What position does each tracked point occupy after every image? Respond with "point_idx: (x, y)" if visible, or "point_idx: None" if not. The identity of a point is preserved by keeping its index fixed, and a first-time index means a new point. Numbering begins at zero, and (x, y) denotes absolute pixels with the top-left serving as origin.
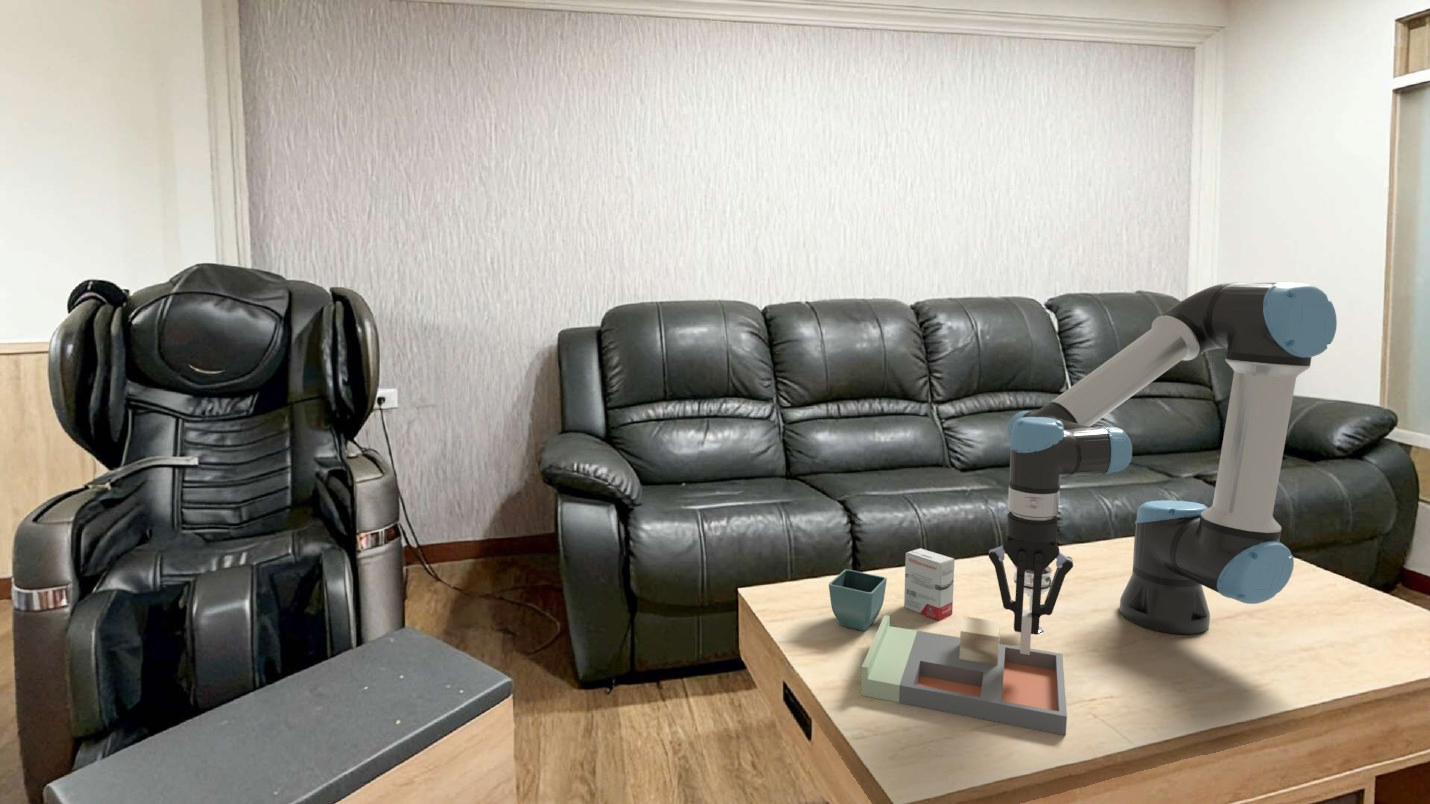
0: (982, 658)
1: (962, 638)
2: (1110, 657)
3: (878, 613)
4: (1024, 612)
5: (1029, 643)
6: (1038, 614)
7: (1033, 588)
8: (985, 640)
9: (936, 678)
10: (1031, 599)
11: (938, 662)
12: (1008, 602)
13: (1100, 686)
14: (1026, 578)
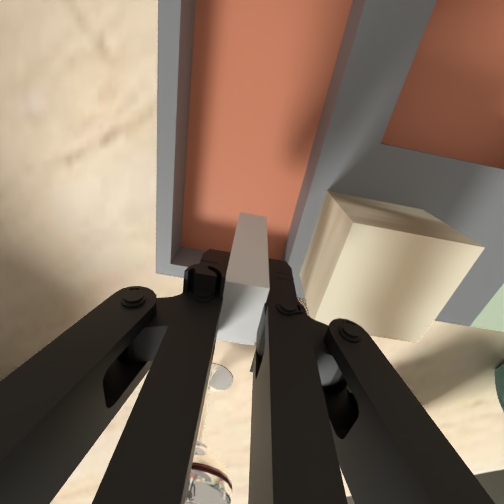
0: (370, 201)
1: (458, 234)
2: (80, 310)
3: (499, 385)
4: (250, 323)
5: (239, 226)
6: (189, 291)
7: (184, 469)
8: (388, 223)
9: (471, 161)
10: (199, 435)
11: (495, 179)
12: (349, 351)
13: (93, 201)
14: (203, 498)
